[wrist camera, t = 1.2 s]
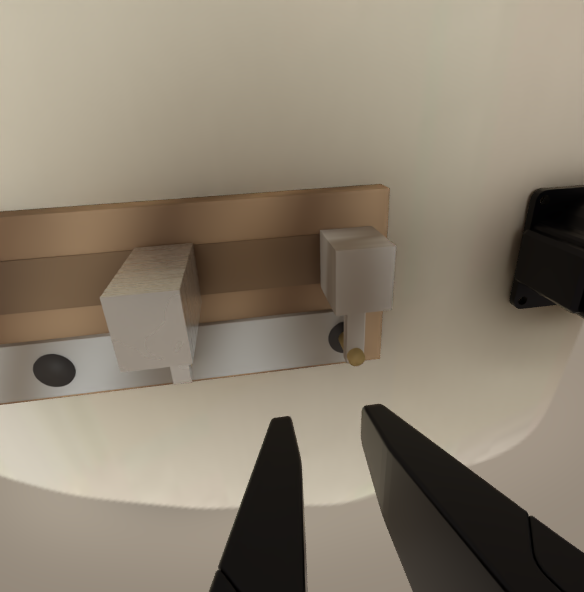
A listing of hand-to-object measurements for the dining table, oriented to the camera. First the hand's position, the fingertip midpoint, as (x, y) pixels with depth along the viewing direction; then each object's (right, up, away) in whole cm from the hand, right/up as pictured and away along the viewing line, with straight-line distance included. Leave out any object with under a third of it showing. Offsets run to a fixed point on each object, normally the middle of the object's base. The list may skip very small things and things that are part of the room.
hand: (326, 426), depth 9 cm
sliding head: (-6, +2, +10) cm, 12 cm away
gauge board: (-6, +3, +11) cm, 13 cm away
